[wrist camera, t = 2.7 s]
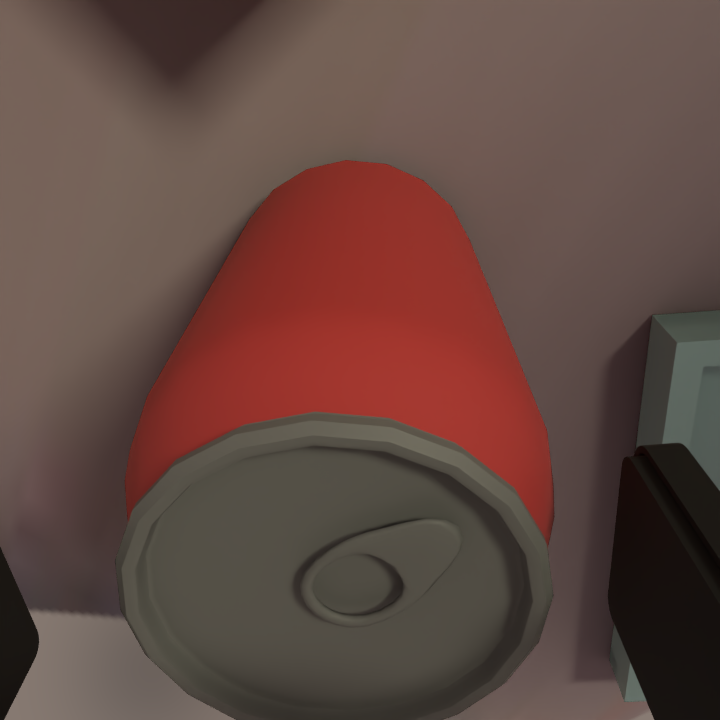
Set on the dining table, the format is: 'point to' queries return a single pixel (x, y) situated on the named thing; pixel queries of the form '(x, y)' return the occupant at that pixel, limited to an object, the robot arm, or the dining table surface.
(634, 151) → the dining table surface
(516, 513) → the beer can
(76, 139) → the dining table surface
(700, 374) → the slate tray
